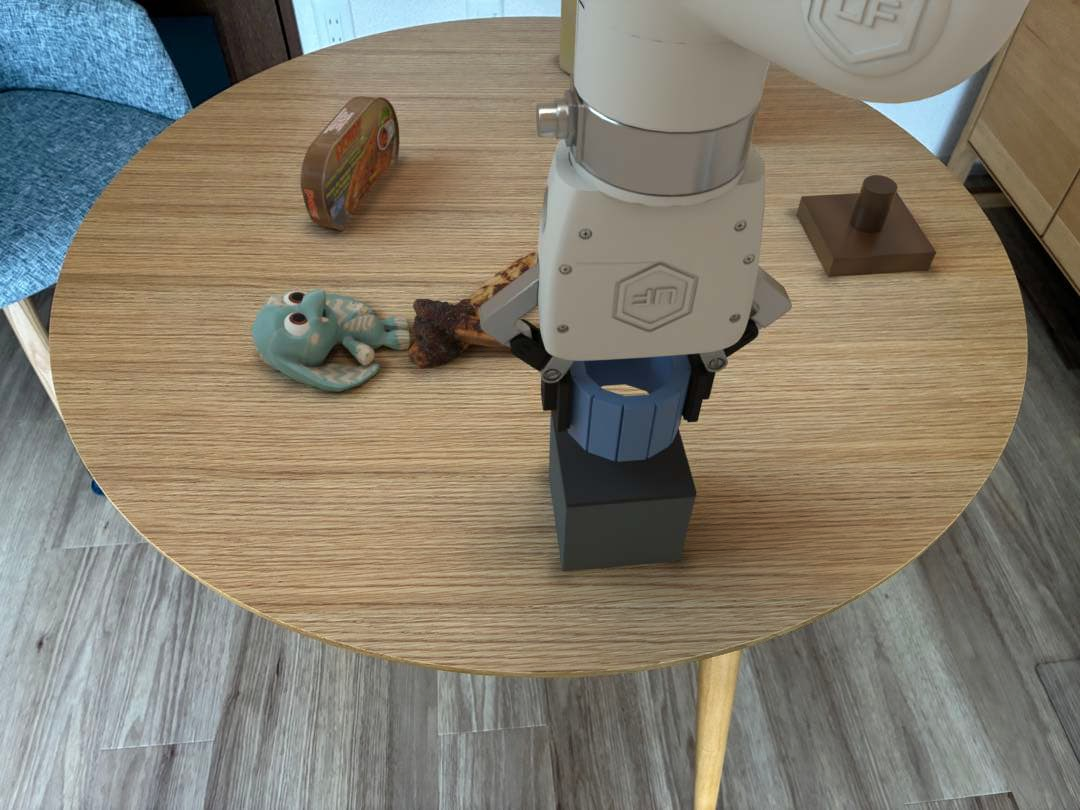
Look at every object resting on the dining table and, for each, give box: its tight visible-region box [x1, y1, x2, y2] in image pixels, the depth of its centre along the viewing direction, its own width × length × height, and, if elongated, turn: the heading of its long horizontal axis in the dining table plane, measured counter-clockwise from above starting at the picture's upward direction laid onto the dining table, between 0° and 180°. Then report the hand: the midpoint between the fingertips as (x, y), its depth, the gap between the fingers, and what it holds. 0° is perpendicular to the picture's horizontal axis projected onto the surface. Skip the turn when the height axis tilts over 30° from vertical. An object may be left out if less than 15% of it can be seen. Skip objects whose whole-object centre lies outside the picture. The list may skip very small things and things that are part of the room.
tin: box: [300, 95, 400, 232], centre depth 79 cm, size 15×3×8 cm, turn 162°
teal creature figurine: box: [250, 288, 413, 393], centre depth 66 cm, size 11×7×12 cm
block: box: [548, 410, 698, 572], centre depth 55 cm, size 8×8×8 cm
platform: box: [796, 174, 937, 278], centre depth 75 cm, size 9×9×7 cm
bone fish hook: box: [408, 246, 540, 370], centre depth 69 cm, size 9×5×18 cm
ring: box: [567, 354, 691, 462], centre depth 48 cm, size 7×7×4 cm
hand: (623, 406), depth 49 cm, fingers closed on ring, 6 cm apart
